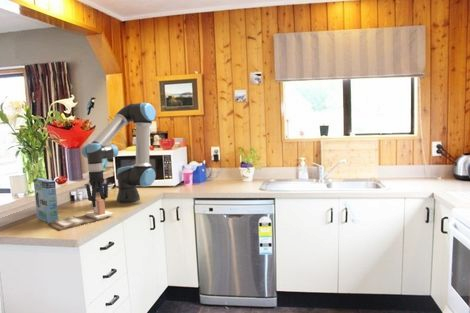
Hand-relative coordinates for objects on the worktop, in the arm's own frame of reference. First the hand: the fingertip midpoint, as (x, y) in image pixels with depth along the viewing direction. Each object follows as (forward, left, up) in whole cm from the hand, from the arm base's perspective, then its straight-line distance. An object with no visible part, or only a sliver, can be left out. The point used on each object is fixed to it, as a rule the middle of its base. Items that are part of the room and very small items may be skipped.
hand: (99, 211), depth 207 cm
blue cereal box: (+21, -20, -3) cm, 29 cm away
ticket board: (+12, 0, -3) cm, 13 cm away
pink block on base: (0, 0, -2) cm, 2 cm away
